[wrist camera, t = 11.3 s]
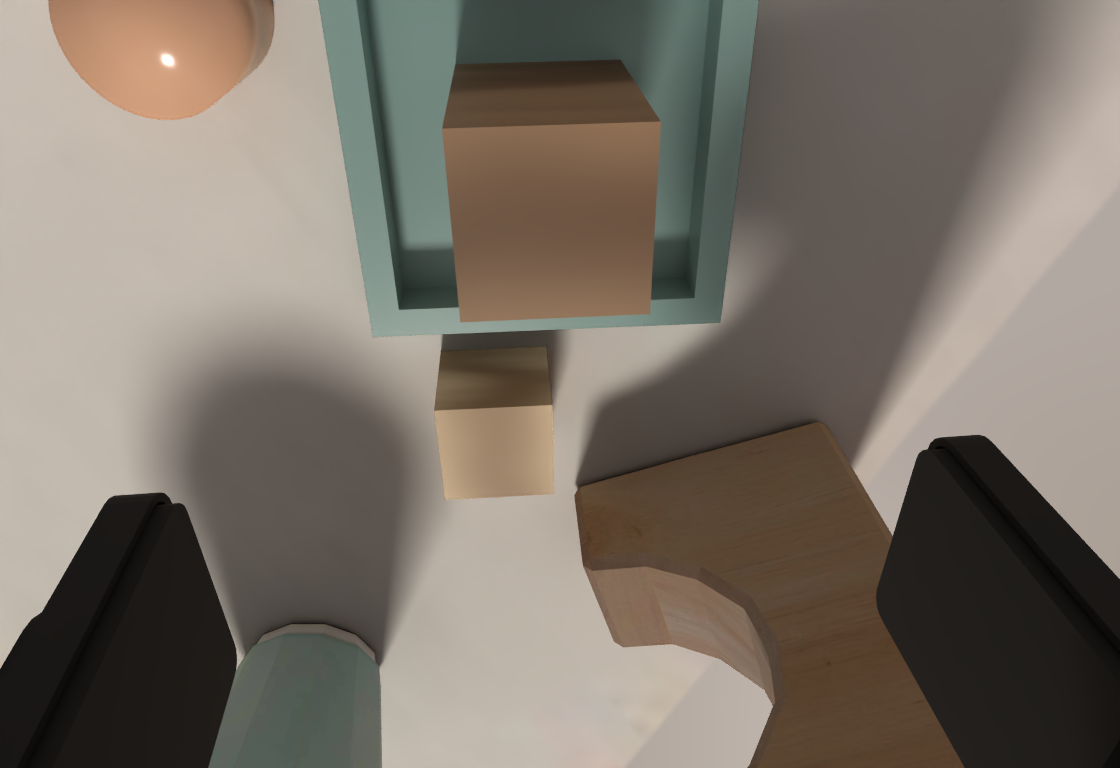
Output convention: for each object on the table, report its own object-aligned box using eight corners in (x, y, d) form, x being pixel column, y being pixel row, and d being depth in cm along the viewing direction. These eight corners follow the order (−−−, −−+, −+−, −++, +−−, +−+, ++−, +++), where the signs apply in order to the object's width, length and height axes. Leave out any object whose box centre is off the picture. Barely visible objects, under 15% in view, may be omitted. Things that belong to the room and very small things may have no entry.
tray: (380, 306, 28) (372, 337, 27) (322, -75, 22) (306, -70, 20) (706, 294, 29) (720, 322, 27) (745, -81, 22) (767, -77, 21)
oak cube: (450, 434, 32) (444, 499, 29) (441, 349, 30) (434, 410, 26) (547, 428, 32) (554, 493, 29) (545, 345, 30) (552, 405, 27)
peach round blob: (141, 86, 24) (84, 122, 21) (93, -81, 22) (19, -71, 18) (287, 83, 24) (254, 117, 21) (256, -83, 22) (213, -73, 18)
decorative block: (601, 568, 37) (689, 1149, 20) (569, 480, 34) (643, 1080, 17) (835, 510, 36) (1134, 1071, 19) (826, 413, 33) (1170, 982, 16)
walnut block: (455, 63, 24) (442, 128, 18) (620, 59, 24) (661, 121, 18) (468, 221, 26) (460, 322, 20) (615, 216, 27) (650, 314, 21)
